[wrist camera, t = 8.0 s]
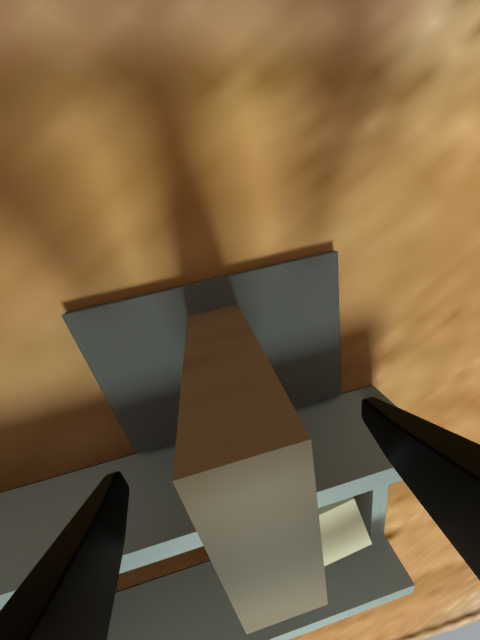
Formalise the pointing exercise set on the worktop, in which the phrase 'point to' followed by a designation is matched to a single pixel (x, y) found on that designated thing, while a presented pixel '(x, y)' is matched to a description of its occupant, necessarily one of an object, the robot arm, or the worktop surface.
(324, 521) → the birch offcut
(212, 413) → the brown flat block
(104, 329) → the mat
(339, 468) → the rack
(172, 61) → the worktop surface
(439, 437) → the robot arm
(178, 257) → the worktop surface
